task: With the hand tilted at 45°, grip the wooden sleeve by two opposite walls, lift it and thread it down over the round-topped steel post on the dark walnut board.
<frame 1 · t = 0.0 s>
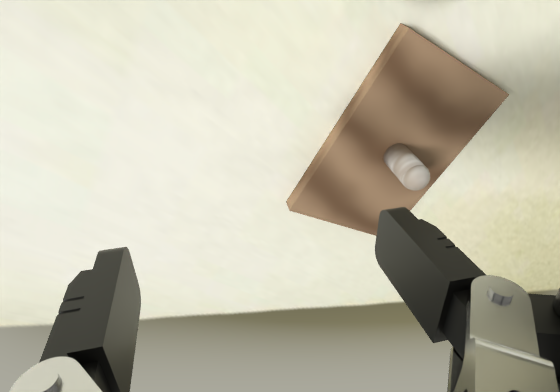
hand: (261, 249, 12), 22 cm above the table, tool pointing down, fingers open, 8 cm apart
post board: (388, 147, 39), on the table
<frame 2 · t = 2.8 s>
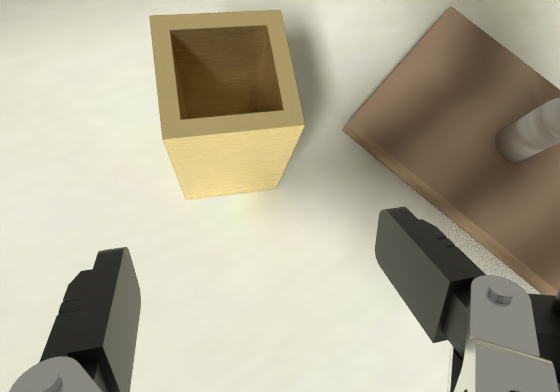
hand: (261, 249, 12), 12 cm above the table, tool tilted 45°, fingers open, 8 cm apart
wooden sleeve: (225, 152, 26), on the table
post board: (497, 152, 29), on the table
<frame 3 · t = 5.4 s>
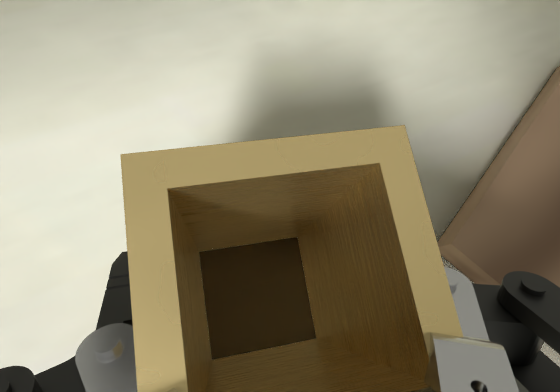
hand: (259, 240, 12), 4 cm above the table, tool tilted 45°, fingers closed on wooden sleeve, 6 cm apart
wooden sleeve: (257, 294, 16), on the table, touching gripper
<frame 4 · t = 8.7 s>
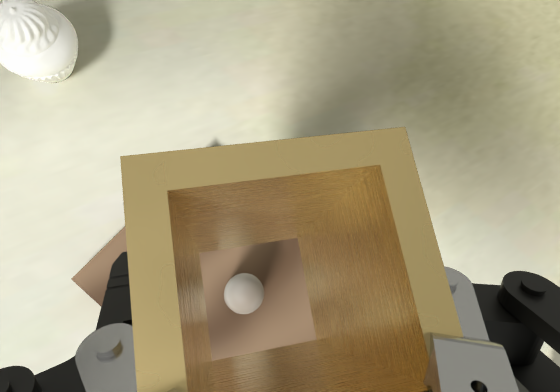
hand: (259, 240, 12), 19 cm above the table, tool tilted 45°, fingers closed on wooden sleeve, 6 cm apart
wooden sleeve: (257, 295, 16), point 14 cm above the table, touching gripper
muffin: (54, 68, 33), on the table
post board: (240, 294, 30), on the table
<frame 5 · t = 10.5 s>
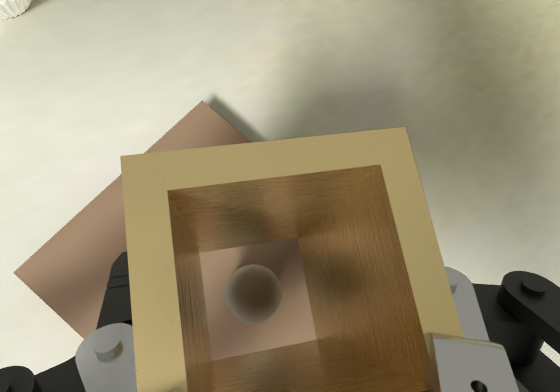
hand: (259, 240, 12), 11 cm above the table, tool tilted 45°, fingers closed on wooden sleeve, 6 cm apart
wooden sleeve: (257, 295, 16), point 6 cm above the table, touching gripper
muffin: (7, 1, 25), on the table
post board: (246, 295, 22), on the table
when the fingers open (7 cm above the table, at t = 12.1 s): wooden sleeve stays where it is, resting on post board.
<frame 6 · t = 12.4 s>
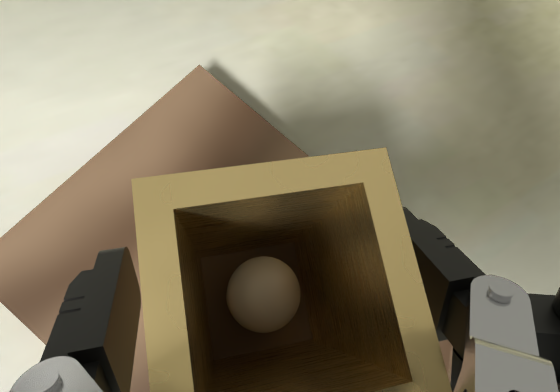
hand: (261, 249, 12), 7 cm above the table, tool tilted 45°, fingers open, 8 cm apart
wooden sleeve: (255, 298, 17), point 1 cm above the table, touching post board
post board: (252, 296, 18), on the table
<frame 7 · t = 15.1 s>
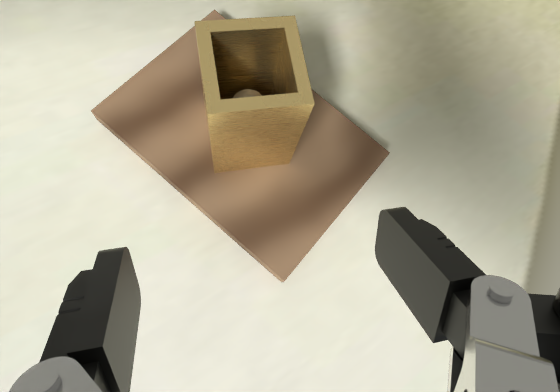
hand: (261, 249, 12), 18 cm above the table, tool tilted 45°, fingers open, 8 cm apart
wooden sleeve: (246, 133, 31), point 1 cm above the table, touching post board
post board: (245, 140, 32), on the table
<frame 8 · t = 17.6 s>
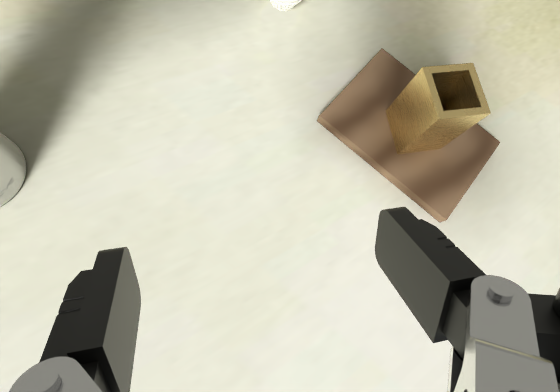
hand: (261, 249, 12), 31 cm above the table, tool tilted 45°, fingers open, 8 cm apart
wooden sleeve: (412, 130, 48), point 1 cm above the table, touching post board
muffin: (282, 2, 53), on the table
post board: (407, 134, 49), on the table
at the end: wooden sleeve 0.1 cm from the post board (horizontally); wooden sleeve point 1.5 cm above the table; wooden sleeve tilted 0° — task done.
